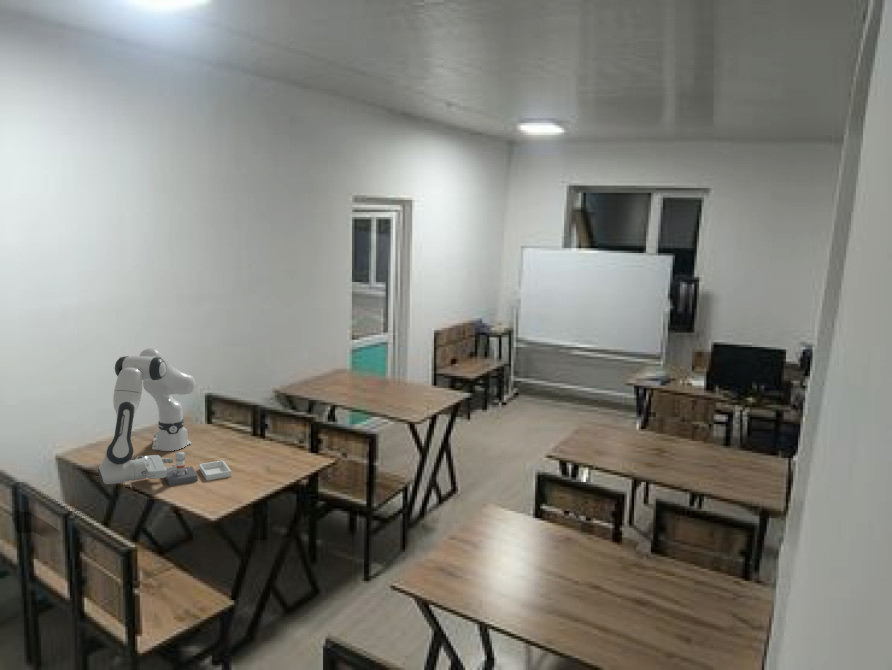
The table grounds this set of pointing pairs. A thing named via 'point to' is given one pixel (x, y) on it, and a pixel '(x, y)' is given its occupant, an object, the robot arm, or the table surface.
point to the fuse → (180, 463)
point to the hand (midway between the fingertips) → (174, 463)
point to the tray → (215, 470)
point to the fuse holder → (181, 477)
